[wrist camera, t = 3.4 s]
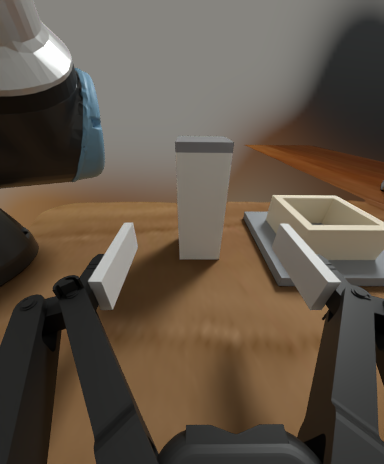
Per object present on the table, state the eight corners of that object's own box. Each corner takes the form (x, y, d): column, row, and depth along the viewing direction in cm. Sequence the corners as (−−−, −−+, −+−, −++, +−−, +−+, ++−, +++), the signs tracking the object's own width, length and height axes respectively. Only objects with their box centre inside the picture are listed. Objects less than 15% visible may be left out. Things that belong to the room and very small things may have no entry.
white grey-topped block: (179, 259, 27) (175, 141, 18) (181, 236, 32) (178, 136, 23) (218, 259, 27) (233, 142, 18) (214, 236, 32) (224, 136, 23)
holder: (278, 285, 23) (295, 246, 19) (243, 218, 38) (249, 188, 34) (415, 286, 23) (458, 247, 19) (326, 218, 38) (340, 189, 34)
